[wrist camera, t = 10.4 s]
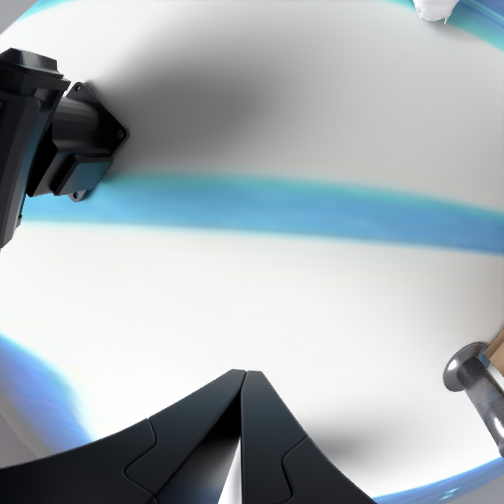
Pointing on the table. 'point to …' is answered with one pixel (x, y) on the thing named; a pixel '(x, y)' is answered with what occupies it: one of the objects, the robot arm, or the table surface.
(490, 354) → the gate
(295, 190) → the table surface
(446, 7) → the elephant figurine
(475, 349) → the hinge post
